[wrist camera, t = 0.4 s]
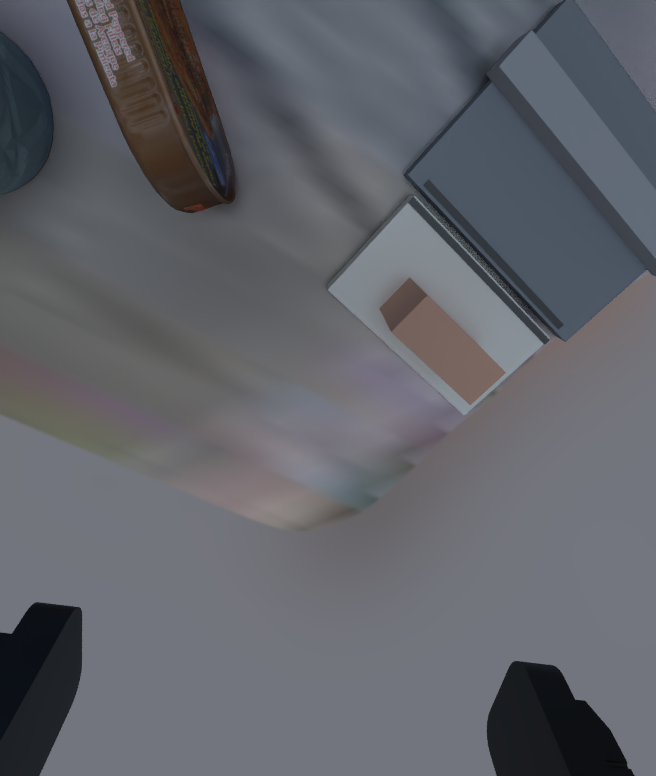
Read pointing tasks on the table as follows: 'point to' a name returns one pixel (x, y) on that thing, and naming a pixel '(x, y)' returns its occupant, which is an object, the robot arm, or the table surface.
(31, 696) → the robot arm
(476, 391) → the white plate with block
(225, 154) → the tin
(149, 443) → the table surface
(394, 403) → the table surface
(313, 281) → the table surface
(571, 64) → the grey plate with ridge
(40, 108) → the blue pot
